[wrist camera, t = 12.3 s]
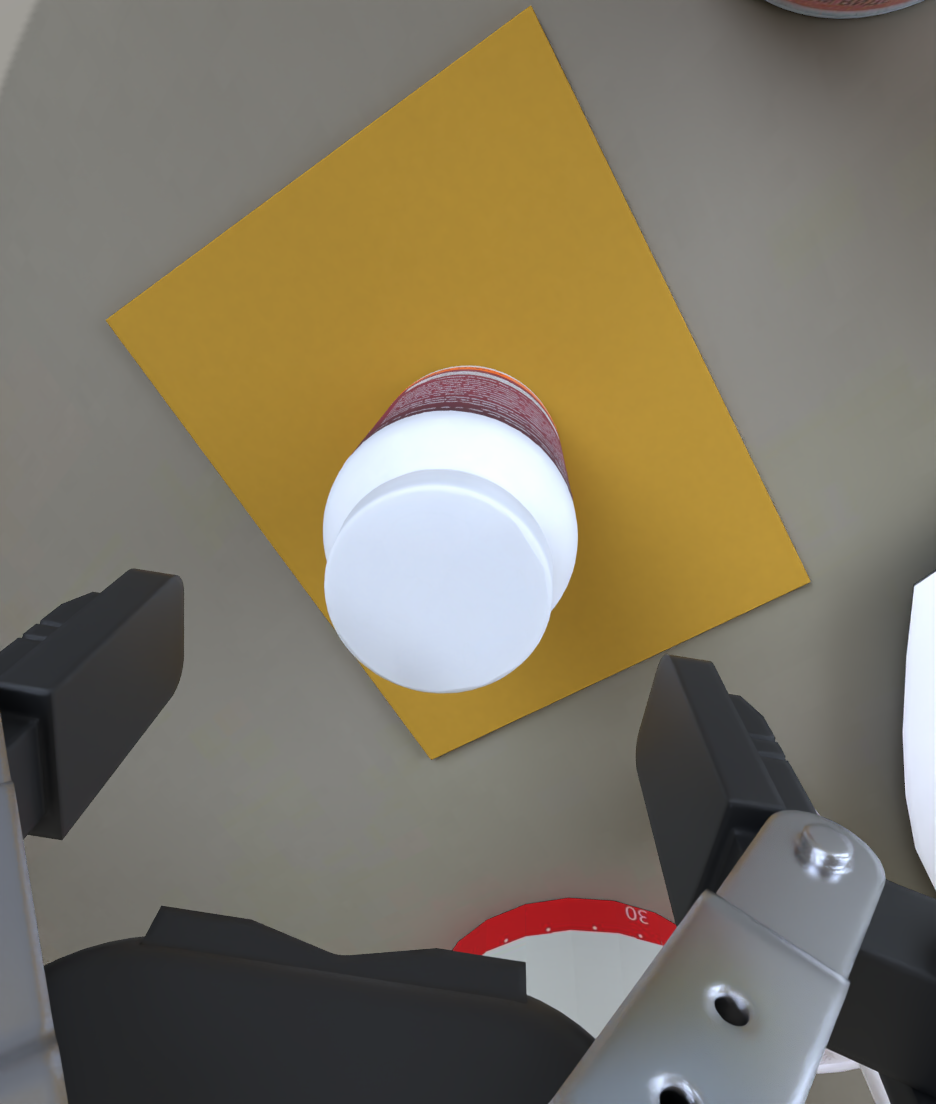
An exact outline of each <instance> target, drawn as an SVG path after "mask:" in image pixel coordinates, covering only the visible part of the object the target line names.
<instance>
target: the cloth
mask: <svg viewBox="0 0 936 1104" xmlns="http://www.w3.org/2000/svg"><path fill="white" fill-rule="evenodd" d="M106 322H107V323H108V324H109V326H110V327H111V328H112V330H113V331H114V332H115V334H116V335H117V336H118V338H119V339H120V340H121V342H122V343H123V344H124V346H125V347H126V349H127V350H128V351H129V353H130V354H131V355H132V357H133V358H134V359H135V361H136V362H137V363H138V365H139V366H140V367H141V369H142V370H143V371H144V373H145V374H146V376H147V377H148V378H149V380H150V381H151V382H152V384H153V385H154V386H155V388H156V389H157V390H158V392H159V393H160V394H161V396H162V397H163V399H164V400H165V401H166V403H167V404H168V405H169V407H170V408H171V409H172V411H173V412H174V413H175V415H176V416H177V417H178V419H179V420H180V421H181V423H182V424H183V426H184V427H185V428H186V430H187V431H188V432H189V434H190V435H191V436H192V438H193V439H194V440H195V442H196V443H197V444H198V446H199V447H200V448H201V450H202V451H203V453H204V454H205V455H206V457H207V458H208V459H209V461H210V462H211V463H212V465H213V466H214V467H215V469H216V470H217V471H218V473H219V474H220V475H221V477H222V478H223V480H224V481H225V482H226V484H227V485H228V486H229V488H230V489H231V490H232V492H233V493H234V494H235V496H236V497H237V498H238V500H239V501H240V502H241V504H242V505H243V507H244V508H245V509H246V511H247V512H248V513H249V515H250V516H251V517H252V519H253V520H254V521H255V523H256V524H257V525H258V527H259V528H260V529H261V531H262V532H263V534H264V535H265V536H266V538H267V539H268V540H269V542H270V543H271V544H272V546H273V547H274V548H275V550H276V551H277V552H278V554H279V555H280V557H281V558H282V559H283V561H284V562H285V563H286V565H287V566H288V567H289V569H290V570H291V571H292V573H293V574H294V575H295V577H296V578H297V579H298V581H299V582H300V584H301V585H302V586H303V588H304V589H305V590H306V592H307V593H308V594H309V596H310V597H311V598H312V600H313V601H314V602H315V604H316V605H317V606H318V608H319V609H320V611H321V612H322V613H323V615H324V616H325V617H326V619H327V620H328V621H329V623H330V624H331V625H332V627H333V628H334V626H333V624H332V621H331V619H330V616H329V613H328V610H327V605H326V600H325V591H324V580H325V569H326V564H327V560H326V556H325V550H324V543H323V519H324V511H325V507H326V503H327V499H328V496H329V493H330V490H331V488H332V486H333V483H334V481H335V479H336V477H337V475H338V473H339V471H340V470H341V469H342V467H343V465H344V463H345V462H346V460H347V459H348V458H349V456H350V455H351V454H352V453H353V452H354V450H355V449H356V448H357V447H358V445H359V444H360V443H361V441H362V440H363V439H364V438H365V437H366V435H367V434H368V433H369V431H371V429H372V428H373V427H374V426H375V424H376V423H377V422H378V420H379V419H380V418H381V417H382V416H383V415H384V413H385V412H386V411H387V409H388V408H389V407H390V406H391V404H392V403H393V402H394V401H395V399H396V398H397V397H398V396H399V395H400V394H401V393H402V392H403V391H404V390H405V389H406V388H408V387H409V386H410V385H412V384H413V383H414V382H416V381H417V380H419V379H420V378H422V377H424V376H426V375H428V374H430V373H433V372H435V371H438V370H441V369H444V368H449V367H455V366H481V367H486V368H491V369H494V370H497V371H500V372H503V373H505V374H507V375H510V376H511V377H513V378H515V379H517V380H518V381H520V382H521V383H522V384H524V385H525V386H526V387H528V388H529V389H530V390H531V391H532V392H533V393H534V394H535V395H536V396H537V397H538V399H539V400H540V401H541V402H542V404H543V405H544V406H545V408H546V409H547V411H548V413H549V414H550V416H551V418H552V420H553V422H554V424H555V426H556V429H557V431H558V435H559V438H560V443H561V447H562V452H563V457H564V461H565V466H566V470H567V474H568V480H569V484H570V489H571V493H572V496H573V503H574V509H575V514H576V520H577V530H578V545H577V554H576V560H575V565H574V569H573V572H572V575H571V578H570V580H569V583H568V585H567V587H566V589H565V591H564V593H563V595H562V597H561V598H560V600H559V601H558V603H557V604H556V606H555V607H554V608H553V610H552V611H551V614H550V618H549V621H548V624H547V627H546V630H545V632H544V634H543V636H542V638H541V640H540V642H539V644H538V645H537V646H536V648H535V649H534V651H533V652H532V653H531V654H530V656H529V657H528V658H527V659H526V660H525V661H524V662H523V663H522V664H521V665H520V666H518V667H517V668H516V669H515V670H513V671H512V672H511V673H509V674H508V675H506V676H505V677H503V678H501V679H500V680H498V681H496V682H494V683H492V684H489V685H486V686H483V687H480V688H477V689H474V690H470V691H464V692H459V693H428V692H421V691H416V690H412V689H409V688H406V687H403V686H400V685H397V684H394V683H392V682H390V681H388V680H386V679H384V678H382V677H380V676H379V675H377V674H375V673H374V672H373V671H371V670H370V669H368V668H367V667H366V666H364V665H363V664H362V663H361V662H359V661H358V662H359V663H360V665H361V666H362V667H363V669H364V670H365V671H366V673H367V674H368V675H369V677H370V678H371V679H372V681H373V682H374V683H375V685H376V686H377V687H378V689H379V690H380V692H381V693H382V694H383V696H384V697H385V698H386V700H387V701H388V702H389V704H390V705H391V706H392V708H393V709H394V710H395V712H396V713H397V715H398V716H399V717H400V719H401V720H402V721H403V723H404V724H405V725H406V727H407V728H408V729H409V731H410V732H411V733H412V735H413V736H414V737H415V739H416V740H417V742H418V743H419V744H420V746H421V747H422V748H423V750H424V751H425V752H426V754H427V755H428V756H429V758H430V759H431V760H432V759H435V758H437V757H439V756H441V755H443V754H445V753H447V752H449V751H452V750H454V749H456V748H458V747H460V746H462V745H464V744H466V743H469V742H471V741H473V740H475V739H477V738H479V737H481V736H484V735H486V734H488V733H490V732H492V731H494V730H496V729H498V728H501V727H503V726H505V725H507V724H509V723H511V722H513V721H515V720H518V719H520V718H522V717H524V716H526V715H528V714H530V713H533V712H535V711H537V710H539V709H541V708H543V707H545V706H547V705H550V704H552V703H554V702H556V701H558V700H560V699H562V698H564V697H567V696H569V695H571V694H573V693H575V692H577V691H579V690H582V689H584V688H586V687H588V686H590V685H592V684H594V683H596V682H599V681H601V680H603V679H605V678H607V677H609V676H611V675H613V674H616V673H618V672H620V671H622V670H624V669H626V668H628V667H631V666H633V665H635V664H637V663H639V662H641V661H643V660H645V659H648V658H650V657H652V656H654V655H656V654H658V653H660V652H662V651H665V650H667V649H669V648H671V647H673V646H675V645H677V644H680V643H682V642H684V641H686V640H688V639H690V638H692V637H694V636H697V635H699V634H701V633H703V632H705V631H707V630H709V629H711V628H714V627H716V626H718V625H720V624H722V623H724V622H726V621H729V620H731V619H733V618H735V617H737V616H739V615H741V614H743V613H746V612H748V611H750V610H752V609H754V608H756V607H758V606H760V605H763V604H765V603H767V602H769V601H771V600H773V599H775V598H777V597H780V596H782V595H784V594H786V593H788V592H790V591H792V590H795V589H797V588H799V587H801V586H803V585H805V584H807V583H809V582H810V579H809V577H808V575H807V573H806V571H805V569H804V567H803V565H802V562H801V560H800V558H799V556H798V554H797V552H796V550H795V548H794V546H793V544H792V542H791V540H790V538H789V536H788V534H787V532H786V530H785V527H784V525H783V523H782V521H781V519H780V517H779V515H778V513H777V511H776V509H775V507H774V505H773V503H772V501H771V499H770V497H769V494H768V492H767V490H766V488H765V486H764V484H763V482H762V480H761V478H760V476H759V474H758V472H757V470H756V468H755V466H754V464H753V462H752V459H751V457H750V455H749V453H748V451H747V449H746V447H745V445H744V443H743V441H742V439H741V437H740V435H739V433H738V431H737V429H736V426H735V424H734V422H733V420H732V418H731V416H730V414H729V412H728V410H727V408H726V406H725V404H724V402H723V400H722V398H721V396H720V394H719V391H718V389H717V387H716V385H715V383H714V381H713V379H712V377H711V375H710V373H709V371H708V369H707V367H706V365H705V363H704V361H703V358H702V356H701V354H700V352H699V350H698V348H697V346H696V344H695V342H694V340H693V338H692V336H691V334H690V332H689V330H688V328H687V326H686V323H685V321H684V319H683V317H682V315H681V313H680V311H679V309H678V307H677V305H676V303H675V301H674V299H673V297H672V295H671V293H670V291H669V288H668V286H667V284H666V282H665V280H664V278H663V276H662V274H661V272H660V270H659V268H658V266H657V264H656V262H655V260H654V258H653V255H652V253H651V251H650V249H649V247H648V245H647V243H646V241H645V239H644V237H643V235H642V233H641V231H640V229H639V227H638V225H637V223H636V220H635V218H634V216H633V214H632V212H631V210H630V208H629V206H628V204H627V202H626V200H625V198H624V196H623V194H622V192H621V190H620V187H619V185H618V183H617V181H616V179H615V177H614V175H613V173H612V171H611V169H610V167H609V165H608V163H607V161H606V159H605V157H604V155H603V152H602V150H601V148H600V146H599V144H598V142H597V140H596V138H595V136H594V134H593V132H592V130H591V128H590V126H589V124H588V122H587V119H586V117H585V115H584V113H583V111H582V109H581V107H580V105H579V103H578V101H577V99H576V97H575V95H574V93H573V91H572V89H571V87H570V84H569V82H568V80H567V78H566V76H565V74H564V72H563V70H562V68H561V66H560V64H559V62H558V60H557V58H556V56H555V54H554V51H553V49H552V47H551V45H550V43H549V41H548V39H547V37H546V35H545V33H544V31H543V29H542V27H541V25H540V23H539V21H538V19H537V16H536V14H535V12H534V10H533V8H532V6H529V7H528V8H526V9H525V10H524V11H522V12H521V13H520V14H518V15H517V16H516V17H514V18H513V19H512V20H510V21H509V22H507V23H506V24H505V25H503V26H502V27H501V28H499V29H498V30H497V31H495V32H494V33H493V34H491V35H490V36H489V37H487V38H486V39H485V40H483V41H482V42H480V43H479V44H478V45H476V46H475V47H474V48H472V49H471V50H470V51H468V52H467V53H466V54H464V55H463V56H462V57H460V58H459V59H458V60H456V61H455V62H453V63H452V64H451V65H449V66H448V67H447V68H445V69H444V70H443V71H441V72H440V73H439V74H437V75H436V76H435V77H433V78H432V79H431V80H429V81H428V82H426V83H425V84H424V85H422V86H421V87H420V88H418V89H417V90H416V91H414V92H413V93H412V94H410V95H409V96H408V97H406V98H405V99H404V100H402V101H401V102H399V103H398V104H397V105H395V106H394V107H393V108H391V109H390V110H389V111H387V112H386V113H385V114H383V115H382V116H381V117H379V118H378V119H376V120H375V121H374V122H372V123H371V124H370V125H368V126H367V127H366V128H364V129H363V130H362V131H360V132H359V133H358V134H356V135H355V136H354V137H352V138H351V139H349V140H348V141H347V142H345V143H344V144H343V145H341V146H340V147H339V148H337V149H336V150H335V151H333V152H332V153H331V154H329V155H328V156H327V157H325V158H324V159H322V160H321V161H320V162H318V163H317V164H316V165H314V166H313V167H312V168H310V169H309V170H308V171H306V172H305V173H304V174H302V175H301V176H300V177H298V178H297V179H295V180H294V181H293V182H291V183H290V184H289V185H287V186H286V187H285V188H283V189H282V190H281V191H279V192H278V193H277V194H275V195H274V196H273V197H271V198H270V199H268V200H267V201H266V202H264V203H263V204H262V205H260V206H259V207H258V208H256V209H255V210H254V211H252V212H251V213H250V214H248V215H247V216H245V217H244V218H243V219H241V220H240V221H239V222H237V223H236V224H235V225H233V226H232V227H231V228H229V229H228V230H227V231H225V232H224V233H223V234H221V235H220V236H218V237H217V238H216V239H214V240H213V241H212V242H210V243H209V244H208V245H206V246H205V247H204V248H202V249H201V250H200V251H198V252H197V253H196V254H194V255H193V256H191V257H190V258H189V259H187V260H186V261H185V262H183V263H182V264H181V265H179V266H178V267H177V268H175V269H174V270H173V271H171V272H170V273H169V274H167V275H166V276H164V277H163V278H162V279H160V280H159V281H158V282H156V283H155V284H154V285H152V286H151V287H150V288H148V289H147V290H146V291H144V292H143V293H142V294H140V295H139V296H137V297H136V298H135V299H133V300H132V301H131V302H129V303H128V304H127V305H125V306H124V307H123V308H121V309H120V310H119V311H117V312H116V313H114V314H113V315H112V316H110V317H109V318H108V319H106ZM334 629H335V628H334ZM335 631H336V630H335ZM355 658H356V657H355ZM356 659H357V658H356ZM357 660H358V659H357Z"/></svg>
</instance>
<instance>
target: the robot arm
mask: <svg viewBox="0 0 936 1104" xmlns="http://www.w3.org/2000/svg"><path fill="white" fill-rule="evenodd" d="M183 661H184V586H183V582H182V579H181V578H180V577H179V576H178V575H171V574H165V573H159V572H153V571H146V570H140V569H130V570H128V571H127V572H126V573H124V574H123V575H122V576H121V577H119V578H118V579H117V580H116V581H115V582H113V583H112V584H111V585H110V586H109V587H107V588H106V589H105V590H104V591H102V592H101V593H96V592H91V593H89V594H86V595H84V596H81V597H79V598H76V599H73V600H71V601H68V602H66V603H63V604H61V605H60V606H59V607H57V608H56V609H55V610H53V611H52V612H51V613H50V614H48V615H47V616H46V617H44V618H43V619H42V620H41V621H40V624H35V625H34V626H33V627H32V628H30V629H29V630H28V631H26V632H25V633H24V634H23V637H22V638H17V639H16V640H15V641H14V642H12V643H11V644H10V645H8V646H7V647H6V648H5V649H3V650H2V651H1V652H0V1104H804V1103H805V1101H806V1098H807V1095H808V1093H809V1090H810V1088H811V1085H812V1082H813V1080H814V1077H815V1075H816V1072H817V1070H818V1067H819V1064H820V1062H821V1059H822V1057H823V1054H824V1051H825V1049H826V1048H827V1049H829V1050H831V1051H833V1052H835V1053H838V1054H840V1055H842V1056H844V1057H846V1058H849V1059H851V1060H853V1061H855V1062H857V1063H859V1064H862V1065H864V1066H866V1067H868V1068H870V1069H873V1070H875V1071H877V1072H878V1073H879V1076H880V1078H881V1081H882V1083H883V1086H884V1088H885V1091H886V1093H887V1096H888V1098H889V1101H890V1103H891V1104H936V899H934V898H932V897H929V896H926V895H924V894H921V893H919V892H916V891H913V890H911V889H908V888H905V887H903V886H900V885H898V884H896V883H893V882H891V881H888V880H886V878H885V871H884V869H883V866H882V864H881V862H880V860H879V859H878V857H877V856H876V854H875V853H874V852H873V851H872V849H871V848H870V847H869V846H868V845H867V844H866V843H865V842H864V841H862V840H861V839H860V838H859V837H858V836H856V835H855V834H854V833H852V832H851V831H849V830H848V829H846V828H845V827H843V826H841V825H840V824H838V823H836V822H834V821H832V820H830V819H827V818H825V817H822V816H820V815H818V814H817V812H816V810H815V808H814V807H813V805H812V803H811V801H810V800H809V798H808V796H807V794H806V792H805V791H804V789H803V787H802V785H801V783H800V782H799V780H798V778H797V776H796V774H795V773H794V771H793V769H792V767H791V765H790V764H789V762H788V761H786V760H785V755H784V753H783V751H782V749H781V747H780V746H779V744H778V742H775V737H774V735H773V733H772V731H771V729H770V728H769V726H768V724H767V722H766V721H765V719H764V717H763V716H762V715H761V714H760V713H759V712H758V711H757V710H755V709H754V708H753V707H752V706H751V705H750V704H749V703H748V702H747V701H745V700H744V699H743V698H742V697H741V696H738V695H732V694H728V692H727V690H726V688H725V686H724V684H723V682H722V680H721V678H720V676H719V674H718V672H717V670H716V668H715V666H714V665H713V663H712V662H710V661H705V660H699V659H693V658H686V657H680V656H674V655H667V654H666V655H664V656H663V657H662V659H661V661H660V663H659V665H658V668H657V671H656V675H655V678H654V682H653V685H652V688H651V692H650V695H649V699H648V702H647V706H646V709H645V713H644V716H643V719H642V723H641V726H640V730H639V734H638V739H637V746H636V767H637V773H638V776H639V780H640V784H641V788H642V792H643V796H644V800H645V804H646V808H647V812H648V816H649V820H650V824H651V828H652V832H653V836H654V840H655V844H656V848H657V852H658V856H659V860H660V864H661V868H662V872H663V876H664V880H665V884H666V888H667V892H668V895H669V899H670V903H671V907H672V911H673V915H674V919H675V923H676V927H677V928H676V929H675V931H674V932H673V933H672V935H671V936H670V938H669V939H668V940H667V942H666V943H665V944H664V946H663V947H662V949H661V950H660V951H659V953H658V954H657V955H656V957H655V958H654V960H653V961H652V962H651V964H650V965H649V966H648V968H647V969H646V971H645V972H644V973H643V975H642V976H641V978H640V979H639V980H638V982H637V983H636V984H635V986H634V987H633V989H632V990H631V991H630V993H629V994H628V995H627V997H626V998H625V1000H624V1001H623V1002H622V1004H621V1005H620V1006H619V1008H618V1009H617V1011H616V1012H615V1013H614V1015H613V1016H612V1017H611V1019H610V1020H609V1022H608V1023H607V1024H606V1026H605V1027H604V1028H603V1030H602V1031H601V1033H600V1034H599V1035H598V1037H597V1038H596V1039H595V1038H594V1037H593V1036H592V1035H591V1034H589V1033H588V1032H587V1031H586V1030H585V1029H584V1028H583V1027H581V1026H580V1025H579V1024H577V1023H576V1022H575V1021H573V1020H572V1019H570V1018H569V1017H567V1016H566V1015H565V1014H563V1013H562V1012H560V1011H559V1010H557V1009H555V1008H553V1007H551V1006H550V1005H548V1004H546V1003H544V1002H542V1001H541V1000H538V999H536V998H534V997H532V996H529V995H527V991H526V962H522V961H515V960H509V959H502V958H496V957H490V956H483V955H477V954H470V953H464V952H457V951H451V950H444V949H438V948H435V949H422V950H410V951H398V952H385V953H373V954H361V955H336V954H333V953H330V952H327V951H325V950H322V949H320V948H318V947H315V946H313V945H311V944H308V943H306V942H303V941H301V940H299V939H296V938H294V937H291V936H289V935H287V934H284V933H282V932H280V931H277V930H275V929H272V928H270V927H268V926H265V925H263V924H260V923H258V922H256V921H253V920H250V919H244V918H237V917H231V916H224V915H218V914H211V913H205V912H198V911H192V910H185V909H179V908H172V907H166V906H161V908H160V910H159V911H158V913H157V915H156V917H155V919H154V921H153V923H152V925H151V926H150V928H149V930H148V932H147V934H146V936H145V937H135V938H128V939H123V940H117V941H112V942H107V943H104V944H100V945H97V946H93V947H90V948H86V949H83V950H80V951H78V952H75V953H73V954H70V955H67V956H65V957H62V958H59V959H57V960H55V961H53V962H51V963H49V964H47V965H45V966H44V965H43V959H42V953H41V946H40V940H39V934H38V928H37V922H36V916H35V910H34V903H33V897H32V891H31V885H30V879H29V873H28V867H27V861H26V854H25V848H24V842H23V840H24V838H25V837H26V836H27V835H33V836H39V837H46V838H52V839H58V840H63V838H64V837H65V836H66V834H67V833H68V832H69V830H70V829H71V828H72V827H73V825H74V824H75V823H76V821H77V820H78V819H79V817H80V816H81V815H82V813H83V812H84V811H85V810H86V808H87V807H88V806H89V804H90V803H91V802H92V800H93V799H94V798H95V796H96V795H97V794H98V793H99V791H100V790H101V789H102V787H103V786H104V785H105V783H106V782H107V781H108V779H109V778H110V777H111V776H112V774H113V773H114V772H115V770H116V769H117V768H118V766H119V765H120V764H121V762H122V761H123V760H124V759H125V757H126V756H127V755H128V753H129V752H130V751H131V749H132V748H133V747H134V745H135V744H136V743H137V742H138V740H139V739H140V738H141V736H142V735H143V734H144V732H145V731H146V730H147V728H148V727H149V726H150V725H151V723H152V722H153V721H154V719H155V718H156V717H157V715H158V714H159V713H160V712H161V710H162V709H163V708H164V706H165V705H166V704H167V702H168V701H169V700H170V698H171V697H172V696H173V694H174V692H175V690H176V688H177V686H178V683H179V681H180V677H181V673H182V669H183Z"/></svg>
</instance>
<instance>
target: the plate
mask: <svg viewBox="0 0 936 1104" xmlns="http://www.w3.org/2000/svg"><path fill="white" fill-rule="evenodd" d="M903 752H904V774H905V795H906V801H907V806H908V812H909V817H910V822H911V828H912V833H913V839H914V844H915V849H916V851H917V853H918V855H919V857H920V859H921V861H922V863H923V865H924V867H925V869H926V872H927V874H928V876H929V878H930V880H931V882H932V884H933V886H934V888H935V890H936V570H934V571H933V572H931V573H930V574H928V575H927V576H925V577H924V578H922V579H921V580H919V581H918V582H916V583H915V584H914V586H913V595H912V604H911V614H910V623H909V632H908V641H907V651H906V668H905V688H904V709H903Z"/></svg>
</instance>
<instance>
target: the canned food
mask: <svg viewBox="0 0 936 1104" xmlns="http://www.w3.org/2000/svg"><path fill="white" fill-rule="evenodd" d="M765 1H767V2H769V3H771V4H774V5H776V6H778V7H780V8H783V9H786V10H790V11H793V12H796V13H799V14H804V15H809V16H814V17H822V18H835V19H843V18H861V17H868V16H875V15H881V14H885V13H889V12H892V11H896V10H900V9H903V8H906V7H909V6H911V5H914V4H917V3H919V2H922V1H925V0H765Z"/></svg>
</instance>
